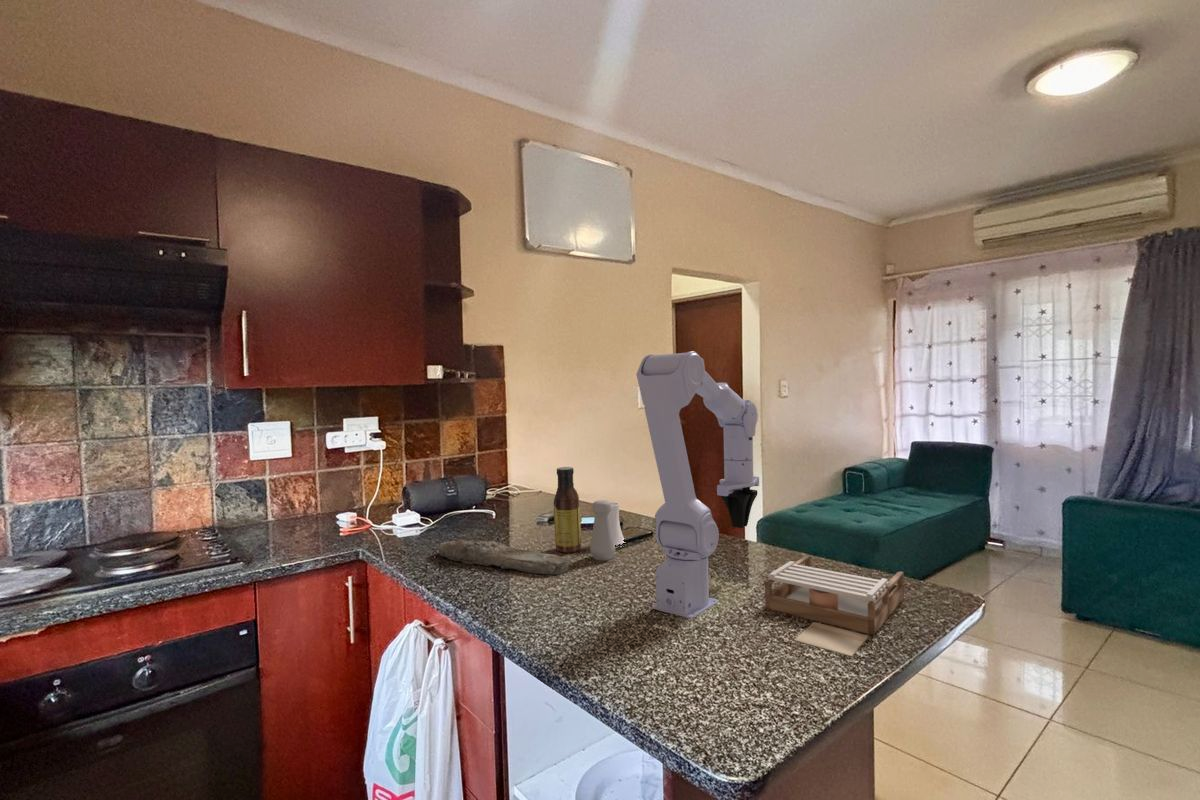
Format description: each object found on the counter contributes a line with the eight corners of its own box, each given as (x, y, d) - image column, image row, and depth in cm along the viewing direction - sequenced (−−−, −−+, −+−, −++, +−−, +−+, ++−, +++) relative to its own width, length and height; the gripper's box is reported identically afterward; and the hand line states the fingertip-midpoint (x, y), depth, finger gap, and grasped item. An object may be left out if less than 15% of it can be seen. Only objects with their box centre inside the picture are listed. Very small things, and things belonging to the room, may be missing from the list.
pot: (833, 621, 87) (832, 595, 87) (805, 614, 90) (804, 589, 90) (842, 612, 90) (841, 588, 90) (815, 606, 93) (814, 582, 93)
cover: (873, 601, 83) (873, 595, 83) (768, 579, 94) (768, 573, 94) (889, 585, 90) (889, 579, 90) (789, 566, 100) (789, 560, 100)
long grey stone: (552, 588, 111) (577, 576, 119) (553, 562, 111) (578, 551, 119) (425, 557, 127) (455, 549, 136) (426, 535, 127) (456, 527, 136)
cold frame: (873, 637, 82) (873, 604, 82) (765, 610, 93) (764, 581, 93) (904, 599, 96) (903, 572, 96) (806, 580, 107) (806, 555, 107)
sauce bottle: (566, 545, 136) (564, 465, 136) (586, 548, 133) (584, 466, 133) (549, 551, 131) (547, 468, 131) (569, 555, 127) (567, 470, 127)
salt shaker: (601, 563, 121) (600, 504, 121) (584, 558, 125) (583, 501, 125) (620, 558, 125) (619, 500, 124) (603, 553, 129) (602, 497, 129)
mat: (851, 659, 75) (851, 655, 75) (794, 643, 81) (794, 639, 81) (868, 639, 81) (868, 635, 81) (813, 625, 87) (813, 621, 87)
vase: (589, 545, 136) (588, 505, 136) (608, 538, 142) (608, 500, 141) (612, 550, 131) (611, 508, 131) (631, 543, 137) (631, 503, 136)
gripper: (737, 454, 119) (738, 517, 119) (702, 461, 108) (704, 530, 108) (768, 456, 114) (769, 521, 115) (735, 464, 103) (736, 536, 104)
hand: (739, 526), depth 111 cm, fingers closed
